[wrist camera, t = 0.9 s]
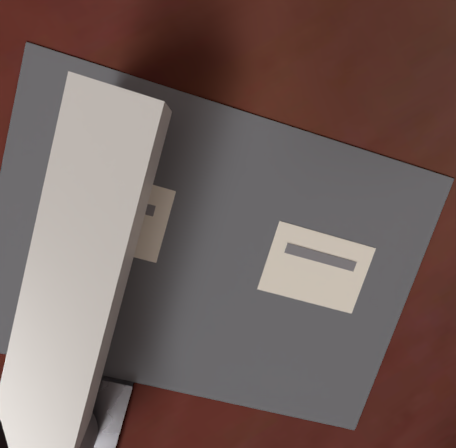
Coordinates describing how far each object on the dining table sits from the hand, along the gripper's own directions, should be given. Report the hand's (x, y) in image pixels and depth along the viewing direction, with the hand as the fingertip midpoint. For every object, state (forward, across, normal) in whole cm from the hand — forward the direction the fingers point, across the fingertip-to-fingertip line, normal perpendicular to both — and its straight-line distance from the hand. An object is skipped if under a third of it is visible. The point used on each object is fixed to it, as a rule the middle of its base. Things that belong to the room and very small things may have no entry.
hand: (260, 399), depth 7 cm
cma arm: (+11, +5, +4) cm, 13 cm away
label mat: (+11, 0, +3) cm, 12 cm away
